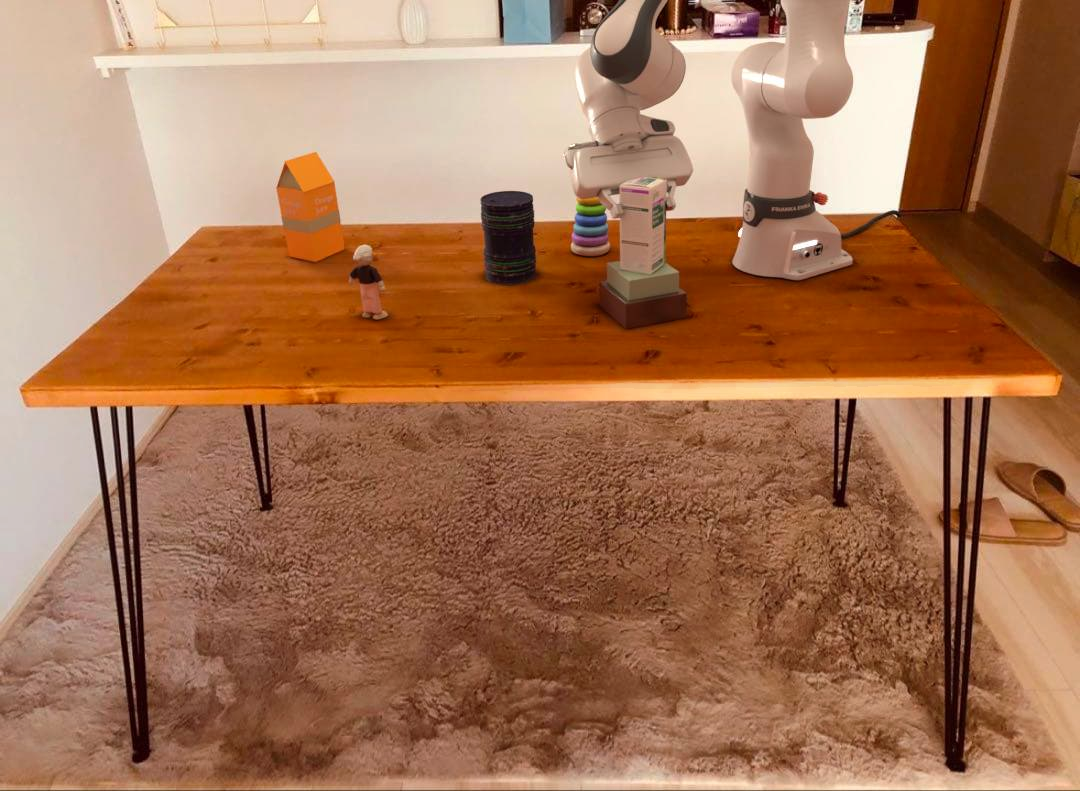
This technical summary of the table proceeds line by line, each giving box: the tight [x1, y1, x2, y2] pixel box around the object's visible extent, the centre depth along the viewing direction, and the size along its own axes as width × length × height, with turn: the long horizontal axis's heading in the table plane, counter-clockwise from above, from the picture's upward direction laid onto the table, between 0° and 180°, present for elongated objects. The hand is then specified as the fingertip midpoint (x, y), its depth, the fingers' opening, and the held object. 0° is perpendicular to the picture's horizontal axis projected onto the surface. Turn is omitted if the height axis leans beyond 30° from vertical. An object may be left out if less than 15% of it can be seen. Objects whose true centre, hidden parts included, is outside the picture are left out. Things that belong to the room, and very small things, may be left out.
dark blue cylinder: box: [480, 190, 537, 285], centre depth 158 cm, size 10×10×15 cm
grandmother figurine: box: [348, 244, 389, 320], centre depth 144 cm, size 8×4×13 cm, turn 71°
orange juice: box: [275, 151, 345, 263], centre depth 173 cm, size 8×9×20 cm
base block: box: [598, 279, 688, 330], centre depth 143 cm, size 11×11×4 cm
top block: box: [606, 260, 680, 301], centre depth 141 cm, size 9×9×4 cm
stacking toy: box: [570, 196, 611, 257], centre depth 168 cm, size 8×8×19 cm
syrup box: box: [619, 176, 667, 275], centre depth 137 cm, size 6×6×14 cm
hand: (644, 212), depth 136 cm, fingers closed on syrup box, 8 cm apart
